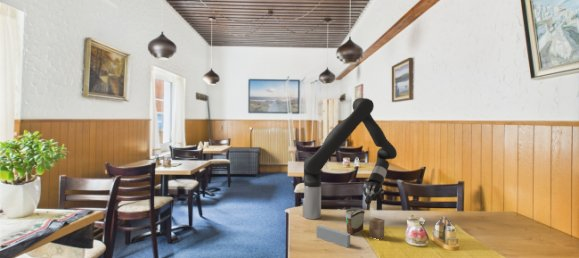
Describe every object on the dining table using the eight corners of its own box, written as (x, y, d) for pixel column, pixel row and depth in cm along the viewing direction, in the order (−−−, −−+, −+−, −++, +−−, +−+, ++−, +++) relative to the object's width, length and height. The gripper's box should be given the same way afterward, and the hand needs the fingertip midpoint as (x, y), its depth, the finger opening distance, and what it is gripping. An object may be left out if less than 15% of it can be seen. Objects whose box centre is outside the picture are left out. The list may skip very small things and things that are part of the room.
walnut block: (368, 237, 135) (369, 219, 134) (374, 234, 138) (374, 217, 138) (379, 240, 131) (379, 222, 131) (384, 237, 135) (384, 219, 135)
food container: (353, 226, 149) (354, 206, 148) (364, 229, 144) (364, 209, 144) (339, 232, 140) (339, 211, 140) (350, 236, 136) (350, 214, 135)
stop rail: (316, 237, 134) (316, 226, 134) (319, 235, 136) (319, 225, 136) (347, 247, 124) (347, 235, 123) (350, 245, 125) (350, 234, 125)
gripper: (364, 170, 164) (352, 197, 155) (387, 173, 155) (376, 201, 146) (368, 178, 168) (357, 205, 159) (391, 182, 159) (381, 209, 150)
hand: (367, 203), depth 153 cm, fingers closed
